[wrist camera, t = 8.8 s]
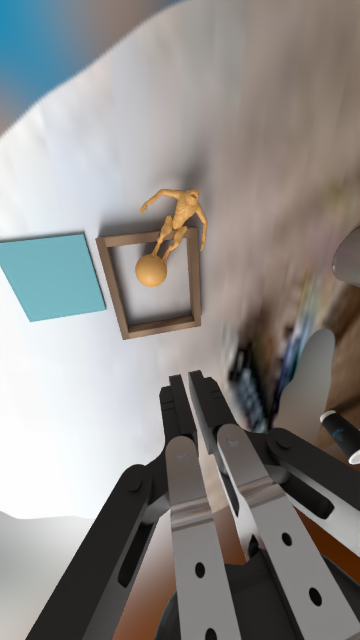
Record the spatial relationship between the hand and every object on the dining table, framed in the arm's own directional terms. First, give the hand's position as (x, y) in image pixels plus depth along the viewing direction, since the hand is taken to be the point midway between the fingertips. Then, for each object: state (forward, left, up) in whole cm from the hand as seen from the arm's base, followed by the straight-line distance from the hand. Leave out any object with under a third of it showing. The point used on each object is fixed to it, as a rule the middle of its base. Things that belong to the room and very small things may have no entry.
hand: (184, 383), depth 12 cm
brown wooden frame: (0, 0, -19) cm, 19 cm away
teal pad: (+13, -3, -19) cm, 23 cm away
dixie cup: (-43, +46, -19) cm, 66 cm away
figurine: (+1, -1, -18) cm, 18 cm away
